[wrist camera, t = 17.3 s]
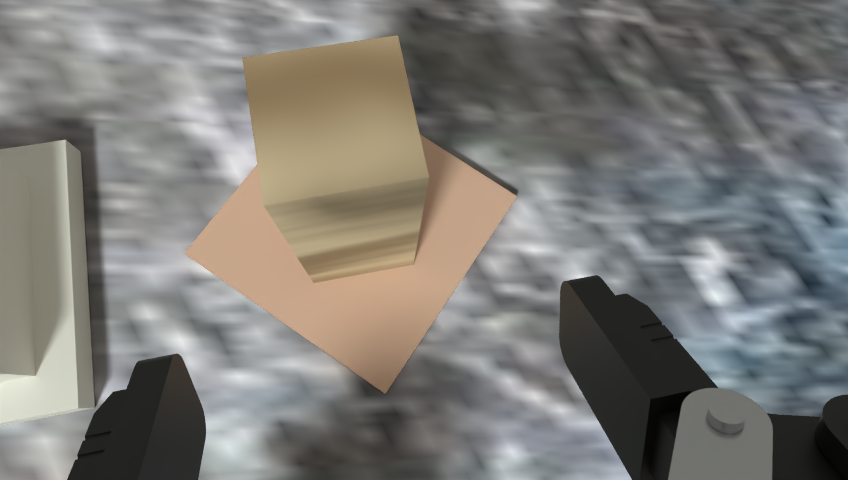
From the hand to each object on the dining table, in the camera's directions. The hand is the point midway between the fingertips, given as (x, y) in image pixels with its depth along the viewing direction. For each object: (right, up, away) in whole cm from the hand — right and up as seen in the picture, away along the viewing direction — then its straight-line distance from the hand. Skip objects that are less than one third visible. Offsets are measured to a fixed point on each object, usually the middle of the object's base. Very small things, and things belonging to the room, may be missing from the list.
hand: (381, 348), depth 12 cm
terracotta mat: (-3, +3, +18) cm, 18 cm away
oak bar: (-3, +3, +17) cm, 18 cm away
